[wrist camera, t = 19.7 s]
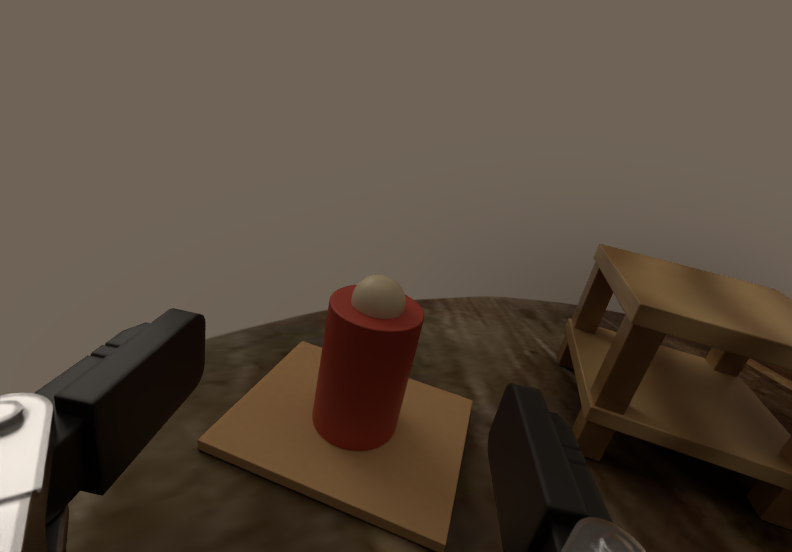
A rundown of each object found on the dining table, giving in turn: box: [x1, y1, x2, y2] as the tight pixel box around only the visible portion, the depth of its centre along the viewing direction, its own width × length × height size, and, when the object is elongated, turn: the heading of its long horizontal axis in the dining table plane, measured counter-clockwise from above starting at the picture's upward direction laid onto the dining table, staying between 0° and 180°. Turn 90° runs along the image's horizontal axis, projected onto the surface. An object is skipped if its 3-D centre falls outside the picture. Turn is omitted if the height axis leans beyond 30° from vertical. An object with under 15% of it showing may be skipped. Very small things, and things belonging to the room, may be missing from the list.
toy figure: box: [312, 274, 424, 451], centre depth 21 cm, size 5×5×8 cm
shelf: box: [557, 244, 792, 530], centre depth 26 cm, size 12×12×10 cm
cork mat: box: [198, 341, 473, 552], centre depth 23 cm, size 12×10×1 cm
